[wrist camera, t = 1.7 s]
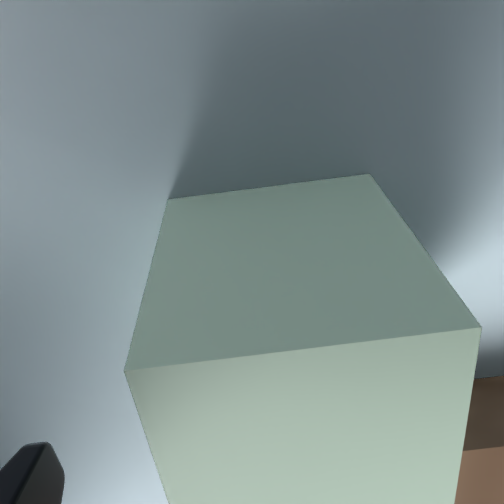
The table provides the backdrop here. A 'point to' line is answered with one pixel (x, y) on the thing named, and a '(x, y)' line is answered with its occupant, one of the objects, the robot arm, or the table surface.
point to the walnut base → (483, 445)
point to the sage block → (301, 351)
